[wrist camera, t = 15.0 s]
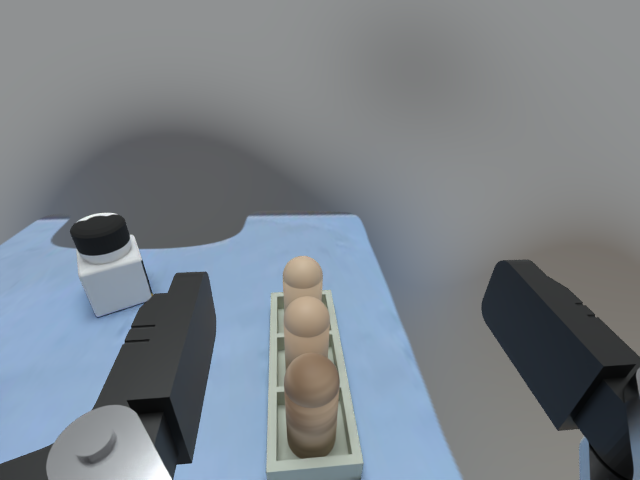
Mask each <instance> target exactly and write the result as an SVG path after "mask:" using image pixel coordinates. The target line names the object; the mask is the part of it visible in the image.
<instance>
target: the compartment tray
mask: <svg viewBox="0 0 640 480" xmlns="http://www.w3.org/2000/svg"><path fill="white" fill-rule="evenodd" d="M322 279H323V275H322V269H321V267H320V265H319V264H318V263H317V262H316V261H315V260H314V259H312V258H310V257H307V256H298V257H295V258H293V259H292V260H290V261H289V262H288V263H287V264H286V266H285V268H284V271H283V292H278V293H271V314H270V353H269V391H268V430H267V468H266V473H267V480H360V479H361V474H362V469H363V458H362V453H361V448H360V442H359V437H358V432H357V426H356V421H355V416H354V411H353V405H352V400H351V395H350V389H349V384H348V379H347V374H346V368H345V363H344V358H343V352H342V347H341V342H340V336H339V331H338V326H337V321H336V315H335V310H334V305H333V299H332V294H331V290H322ZM306 353H318V354H322V355H324V356H325V357H327V358H328V359H330V360H331V361H332V363H333V364H334V365H335V367H336V369H337V371H338V374H339V379H340V386H339V400H338V414H337V427H336V440H335V444H334V447H333V449H332V450H331V452H330V453H329V454H328V455H327V456H325V457H316V458H305V459H301V458H299V457H297V456H296V455H295V454H294V453H293V452H292V451H291V449H290V447H289V445H288V441H287V427H286V411H285V395H284V377H285V373H286V370H287V368H288V366H289V365H290V364H291V362H292V361H293V360H294V359H296V358H297V357H299V356H300V355H302V354H306Z"/></svg>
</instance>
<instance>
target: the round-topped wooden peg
mask: <svg viewBox="0 0 640 480" xmlns="http://www.w3.org/2000/svg"><path fill="white" fill-rule="evenodd" d="M339 386H340V379H339V374H338V371H337V369H336V367H335V365H334V364H333V363H332V361H331V360H330V359H328V358H327V357H325V356H324V355H322V354H318V353H306V354H302V355H300V356H299V357H297V358H296V359H294V360H293V361H292V362H291V364H290V365H289V366H288V368H287V370H286V373H285V377H284V395H285V411H286V427H287V441H288V445H289V447H290V449H291V451H292V452H293V453H294V454H295V455H296V456H297V457H299V458H301V459H305V458H316V457H325V456H327V455H328V454H329V453H330V452H331V450H332V449H333V447H334V444H335V440H336V427H337V414H338V400H339Z"/></svg>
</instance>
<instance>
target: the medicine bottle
mask: <svg viewBox="0 0 640 480" xmlns="http://www.w3.org/2000/svg"><path fill="white" fill-rule="evenodd" d="M70 233H71V236H72V238H73V240H74V243H75V245H76V248H77V249H76V251H77V263H78V275H79V279H80V281H81V283H82V286H83V288H84V290H85V292H86V295H87V297H88V299H89V302H90V304H91V306H92V309H93V311H94V313H95V315H96V316H97V317H100V316H103V315H106V314H110V313H113V312H116V311H119V310H122V309H125V308H128V307H131V306H134V305H137V304H140V303H144V302H147V301H148V300H149V299H150V298H151V297H152V296H153V294H152V290H151V287H150V284H149V280H148V277H147V274H146V270H145V267H144V264H143V261H142V257H141V255H140V252H139V249H138V246H137V243H136V240H135V237H134V236H133V235H129V232H128V229H127V226H126V222H125V219H124V218H123V217H122V216H120V215H118V214H114V213H99V214H93V215H90V216H87V217H85V218H83V219H81V220H79V221H78V222H76V223H75V224H74V225H73V226H72V228H71V230H70Z"/></svg>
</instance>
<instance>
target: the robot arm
mask: <svg viewBox="0 0 640 480" xmlns="http://www.w3.org/2000/svg"><path fill="white" fill-rule="evenodd" d="M582 303H583V302H582V301H581V300H580V299H578V298H577V297H576V296H575V295H574V294H573V293H572V292H571V291H570V290H569V289H568V288H566V287H565V286H563V285H561V284H560V283H558V282H556V281H554V280H553V279H552V278H550V277H548V276H546V274H545V273H543V271H541V270H540V269H539V268H538V267H537V266H536V265H535V264H534V263H533V262H532V261H530V260H503V261H500V262H498V263H497V264H496V266H495V268H494V271H493V273H492V276H491V279H490V281H489V284H488V287H487V290H486V292H485V295H484V298H483V301H482V315H483V318H484V321H485V322H486V324H487V326H488V327H489V329H490V330H491V332H492V333H493V335H494V336H495V338H496V339H497V341H498V342H499V343H500V345H501V347H502V348H503V349H504V351H505V353H506V354H507V355H508V357H509V358H510V360H511V362H512V363H513V364H514V366H515V367H516V369H517V371H518V372H519V373H520V375H521V377H522V378H523V379H524V381H525V382H526V384H527V385H528V387H529V388H530V390H531V391H532V393H533V394H534V396H535V397H536V399H537V400H538V402H539V403H540V405H541V406H542V408H543V409H544V411H545V412H546V414H547V415H548V417H549V418H550V420H551V421H552V423H553V424H554V426H555V427H556V429H557V430H558V431H560V430H570V429H571V430H572V429H580V431H581V432H582V433H583V435H584V437H583V439H582V440H581V442H580V447H579V448H580V449H579V455H580V457H579V459H580V480H640V357H639V356H638V355H637V354H636V353H635V352H634V351H633V350H632V349H631V348H630V347H629V346H628V345H627V344H625V343H624V341H622V340H621V339H620V338H619V337H618V336H617V335H616V334H615V333H614V332H613V331H612V330H611V329H610V328H609V327H608V326H607V325H606V324H605V323H604V322H603V321H601V320H600V319H599V318H598V317H597V318H596V317H595V314H594V313H593V312H592V311H591V310H590V309H589V308H588V307H587V306H585V305H583V304H582ZM215 336H216V314H215V308H214V303H213V297H212V292H211V286H210V281H209V276H208V273H207V272H186V273H176V274H175V276H174V278H173V281H172V283H171V286H170V288H169V291H168V293H160V294H154V295H153V296H152V297H151V298H150V299H149V300H148V301H147V302H146V303H145V304H144V305H143V306H141V307H140V308H139V310H138V312H137V315H136V317H135V319H134V321H133V323H132V325H131V329H130V330H129V332H128V334H127V336H126V339H125V344H123V345H122V347H121V349H120V352H119V354H118V356H117V358H116V360H115V362H114V365H113V367H112V369H111V371H110V373H109V376H108V378H107V380H106V382H105V384H104V386H103V389H102V391H101V393H100V395H99V397H98V399H97V402H96V404H95V405H94V407H93V409H92V410H91V411H90V412H88V413H86V414H84V415H82V416H81V417H79V418H78V419H76V420H75V421H74V422H72V423H71V424H70V425H69V426H68V427H67V428H66V429H65V430H64V431H63V432H62V433H61V434H60V435H59V437H58V438H57V439H56V441H55V442H54V443H53V444H51V445H49V446H47V447H45V448H42V449H40V450H37V451H34V452H32V453H29V454H26V455H23V456H21V457H18V458H15V459H13V460H10V461H7V462H4V463H2V464H0V480H173V478H174V473H175V469H176V465H178V464H188V463H192V460H193V454H194V449H195V444H196V438H197V433H198V428H199V422H200V417H201V412H202V406H203V401H204V396H205V390H206V385H207V379H208V374H209V369H210V363H211V358H212V353H213V347H214V342H215Z"/></svg>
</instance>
